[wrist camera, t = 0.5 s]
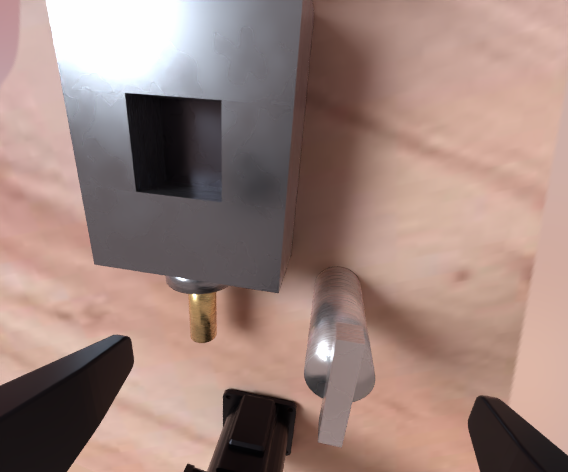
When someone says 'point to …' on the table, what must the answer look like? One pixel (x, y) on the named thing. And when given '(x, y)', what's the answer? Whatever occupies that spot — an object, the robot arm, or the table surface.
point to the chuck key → (338, 351)
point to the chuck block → (188, 136)
